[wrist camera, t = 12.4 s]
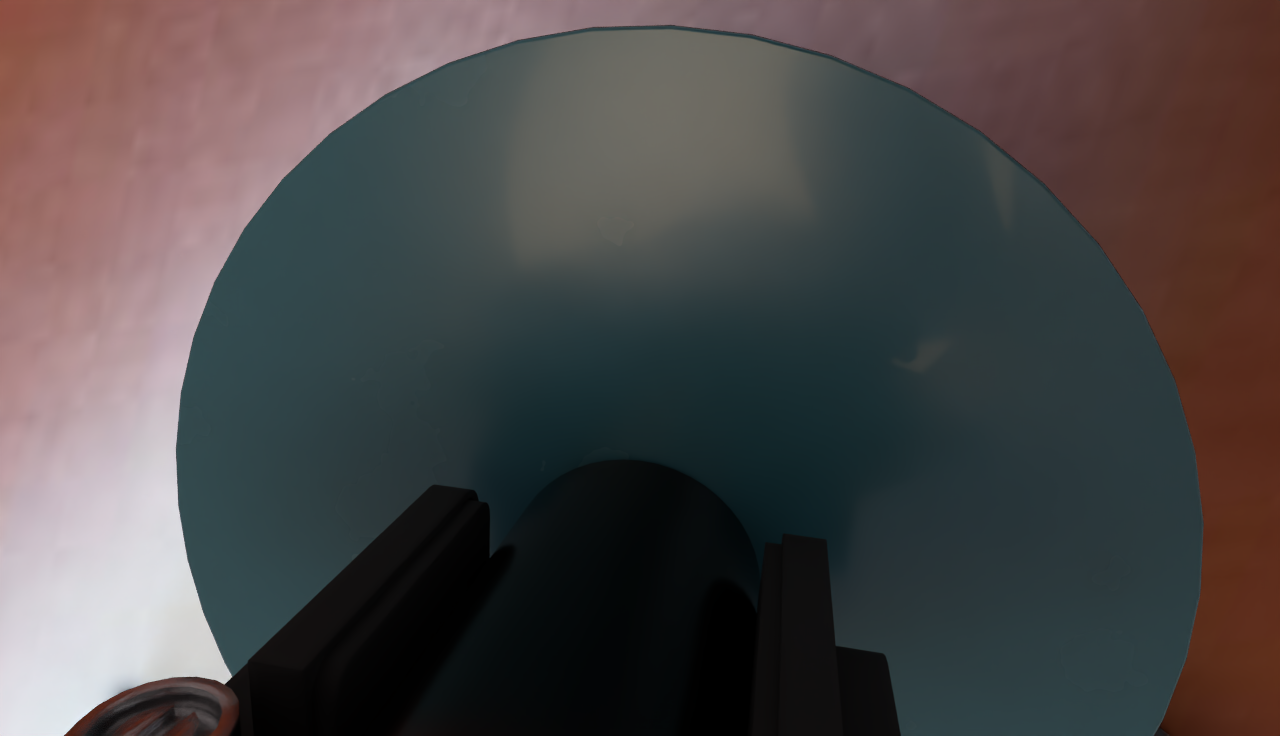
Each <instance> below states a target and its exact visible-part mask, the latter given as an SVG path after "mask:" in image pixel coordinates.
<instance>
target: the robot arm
mask: <svg viewBox="0 0 1280 736" xmlns="http://www.w3.org/2000/svg"><path fill="white" fill-rule="evenodd" d="M489 559H490V508H489V505H488V503H487V502H480V501H479V500H478V496H477V493H476V492H475V490H471V489H464V488H457V487H450V486H442V485H435V484H434V485H432V486H430V487H429V488H428V489H427V490H426V491H425V492H424V493H423V494H422V495H421V496H420V497H419V498H418V499H417V500H416V501H414V502H413V503H412V504H411V505H410V506H409V507H408V508H407V509H406V510H405V511H404V512H403V513H402V514H401V515H400V516H399V517H398V518H397V519H396V520H395V521H394V522H392V523H391V524H390V525H389V526H388V527H387V528H386V529H385V530H384V531H383V532H382V533H381V534H380V535H379V536H378V537H377V538H376V539H375V540H374V541H373V542H372V543H370V544H369V545H368V546H367V547H366V548H365V549H364V550H363V551H362V552H361V553H360V554H359V555H358V556H357V557H356V558H355V559H354V560H353V561H352V562H351V563H350V564H348V565H347V566H346V567H345V568H344V569H343V570H342V571H341V572H340V573H339V574H338V575H337V576H336V577H335V578H334V579H333V580H332V581H331V582H330V583H329V584H327V585H326V586H325V587H324V588H323V589H322V590H321V591H320V592H319V593H318V594H317V595H316V596H315V597H314V598H313V599H312V600H311V601H310V602H309V603H308V604H307V605H305V606H304V607H303V608H302V609H301V610H300V611H299V612H298V613H297V614H296V615H295V616H294V617H293V618H292V619H291V620H290V621H289V622H288V623H287V624H286V625H285V626H283V627H282V628H281V629H280V630H279V631H278V632H277V633H276V634H275V635H274V636H273V637H272V638H271V639H270V640H269V641H268V642H267V643H266V644H265V645H264V646H263V647H261V648H260V649H259V650H258V651H257V652H256V653H255V654H254V655H253V656H252V657H251V658H250V659H249V660H248V663H247V664H246V665H245V666H244V667H243V668H241V669H240V670H239V671H238V672H237V673H236V674H235V675H234V676H233V677H232V678H231V679H230V680H229V681H228V682H227V683H226V684H225V685H224V684H222V683H220V682H218V681H216V680H211V679H205V678H200V677H176V678H169V679H164V680H159V681H154V682H149V683H146V684H143V685H140V686H137V687H135V688H132V689H129V690H126V691H124V692H121V693H119V694H118V695H116V696H114V697H112V698H110V699H109V700H107V701H105V702H103V703H101V704H99V705H98V706H97V707H95V708H94V709H93V710H92V711H90V712H89V713H88V714H87V715H85V716H84V717H83V718H82V719H81V720H79V721H78V722H77V723H76V724H75V725H74V726H73V727H72V728H71V729H70V730H69V731H68V732H67V733H66V734H65V735H64V736H362V734H363V733H364V731H365V730H366V729H367V727H368V726H369V724H370V723H371V722H372V720H373V719H374V718H375V716H376V715H377V713H378V712H379V711H380V709H381V708H382V707H383V705H384V704H385V702H386V701H387V700H388V698H389V697H390V695H391V694H392V693H393V691H394V690H395V689H396V687H397V686H398V684H399V683H400V682H401V680H402V679H403V678H404V676H405V675H406V673H407V672H408V671H409V669H410V668H411V666H412V665H413V664H414V662H415V661H416V660H417V658H418V657H419V655H420V654H421V653H422V651H423V650H424V649H425V647H426V646H427V644H428V643H429V642H430V640H431V639H432V637H433V636H434V635H435V633H436V632H437V631H438V629H439V628H440V626H441V625H442V624H443V622H444V621H445V620H446V618H447V617H448V615H449V614H450V613H451V611H452V610H453V608H454V607H455V606H456V604H457V603H458V602H459V600H460V599H461V597H462V596H463V595H464V593H465V592H466V591H467V589H468V588H469V586H470V585H471V584H472V582H473V581H474V579H475V578H476V577H477V575H478V574H479V573H480V571H481V570H482V568H483V567H484V566H485V564H486V563H487V562H488V560H489ZM747 736H901V733H900V727H899V722H898V716H897V711H896V705H895V700H894V694H893V689H892V683H891V678H890V672H889V667H888V662H887V659H886V656H885V655H884V654H883V653H878V652H872V651H866V650H859V649H853V648H847V647H841V646H836V644H835V632H834V620H833V608H832V597H831V585H830V573H829V561H828V549H827V540H826V539H820V538H813V537H806V536H799V535H792V534H785V533H783V536H782V543H781V544H775V543H768V542H765V548H764V556H763V564H762V573H761V581H760V589H759V598H758V606H757V615H756V628H755V641H754V654H753V667H752V680H751V693H750V706H749V719H748V733H747Z"/></svg>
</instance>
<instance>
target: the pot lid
mask: <svg viewBox="0 0 1280 736" xmlns="http://www.w3.org/2000/svg"><path fill="white" fill-rule="evenodd" d="M176 461H177V484H178V506H179V512H180V518H181V523H182V529H183V535H184V541H185V547H186V553H187V559H188V563H189V566H190V569H191V573H192V576H193V579H194V583H195V586H196V590H197V593H198V596H199V600H200V603H201V606H202V610H203V613H204V615H205V618H206V620H207V622H208V625H209V627H210V629H211V632H212V634H213V636H214V639H215V641H216V644H217V646H218V648H219V651H220V653H221V655H222V658H223V660H224V662H225V664H226V666H227V668H228V670H229V671H230V673H231V675H232V677H233V676H234V675H235V674H236V673H237V672H238V671H239V670H240V669H241V668H243V667H244V666H245V665H246V664H247V663H248V660H249V659H250V658H251V657H252V656H253V655H254V654H255V653H256V652H257V651H258V650H259V649H260V648H261V647H263V646H264V645H265V644H266V643H267V642H268V641H269V640H270V639H271V638H272V637H273V636H274V635H275V634H276V633H277V632H278V631H279V630H280V629H281V628H282V627H283V626H285V625H286V624H287V623H288V622H289V621H290V620H291V619H292V618H293V617H294V616H295V615H296V614H297V613H298V612H299V611H300V610H301V609H302V608H303V607H304V606H305V605H307V604H308V603H309V602H310V601H311V600H312V599H313V598H314V597H315V596H316V595H317V594H318V593H319V592H320V591H321V590H322V589H323V588H324V587H325V586H326V585H327V584H329V583H330V582H331V581H332V580H333V579H334V578H335V577H336V576H337V575H338V574H339V573H340V572H341V571H342V570H343V569H344V568H345V567H346V566H347V565H348V564H350V563H351V562H352V561H353V560H354V559H355V558H356V557H357V556H358V555H359V554H360V553H361V552H362V551H363V550H364V549H365V548H366V547H367V546H368V545H369V544H370V543H372V542H373V541H374V540H375V539H376V538H377V537H378V536H379V535H380V534H381V533H382V532H383V531H384V530H385V529H386V528H387V527H388V526H389V525H390V524H391V523H392V522H394V521H395V520H396V519H397V518H398V517H399V516H400V515H401V514H402V513H403V512H404V511H405V510H406V509H407V508H408V507H409V506H410V505H411V504H412V503H413V502H414V501H416V500H417V499H418V498H419V497H420V496H421V495H422V494H423V493H424V492H425V491H426V490H427V489H428V488H429V487H430V486H432V485H434V484H435V485H442V486H450V487H457V488H464V489H471V490H475V492H476V493H477V496H478V500H479V501H480V502H487V503H488V505H489V508H490V559H489V560H488V562H487V563H486V564H485V566H484V567H483V568H482V570H481V571H480V573H479V574H478V575H477V577H476V578H475V579H474V581H473V582H472V584H471V585H470V586H469V588H468V589H467V591H466V592H465V593H464V595H463V596H462V597H461V599H460V600H459V602H458V603H457V604H456V606H455V607H454V608H453V610H452V611H451V613H450V614H449V615H448V617H447V618H446V620H445V621H444V622H443V624H442V625H441V626H440V628H439V629H438V631H437V632H436V633H435V635H434V636H433V637H432V639H431V640H430V642H429V643H428V644H427V646H426V647H425V649H424V650H423V651H422V653H421V654H420V655H419V657H418V658H417V660H416V661H415V662H414V664H413V665H412V666H411V668H410V669H409V671H408V672H407V673H406V675H405V676H404V678H403V679H402V680H401V682H400V683H399V684H398V686H397V687H396V689H395V690H394V691H393V693H392V694H391V695H390V697H389V698H388V700H387V701H386V702H385V704H384V705H383V707H382V708H381V709H380V711H379V712H378V713H377V715H376V716H375V718H374V719H373V720H372V722H371V723H370V724H369V726H368V727H367V729H366V730H365V731H364V733H363V734H362V736H747V733H748V719H749V706H750V693H751V680H752V667H753V654H754V641H755V628H756V615H757V606H758V598H759V589H760V581H761V573H762V564H763V556H764V548H765V542H768V543H775V544H781V543H782V536H783V533H785V534H792V535H799V536H806V537H813V538H820V539H826V540H827V549H828V561H829V573H830V585H831V597H832V608H833V620H834V632H835V644H836V646H841V647H847V648H853V649H859V650H866V651H872V652H878V653H883V654H884V655H885V656H886V659H887V662H888V667H889V672H890V678H891V683H892V689H893V694H894V700H895V705H896V711H897V716H898V722H899V727H900V733H901V736H1154V734H1155V733H1156V731H1157V729H1158V727H1159V726H1160V724H1161V722H1162V721H1163V719H1164V716H1165V713H1166V711H1167V708H1168V706H1169V703H1170V700H1171V698H1172V695H1173V693H1174V690H1175V687H1176V685H1177V682H1178V680H1179V677H1180V674H1181V672H1182V669H1183V667H1184V664H1185V661H1186V659H1187V654H1188V649H1189V645H1190V640H1191V635H1192V630H1193V626H1194V621H1195V616H1196V611H1197V607H1198V602H1199V597H1200V590H1201V568H1202V546H1203V514H1202V505H1201V497H1200V488H1199V480H1198V471H1197V463H1196V454H1195V449H1194V445H1193V442H1192V438H1191V435H1190V431H1189V428H1188V424H1187V420H1186V417H1185V413H1184V410H1183V406H1182V403H1181V399H1180V396H1179V392H1178V389H1177V385H1176V382H1175V379H1174V377H1173V374H1172V372H1171V370H1170V368H1169V366H1168V364H1167V361H1166V359H1165V357H1164V355H1163V353H1162V351H1161V348H1160V346H1159V344H1158V342H1157V340H1156V338H1155V335H1154V333H1153V331H1152V329H1151V327H1150V325H1149V322H1148V320H1147V318H1146V316H1145V314H1144V312H1143V310H1142V308H1141V307H1140V305H1139V304H1138V302H1137V301H1136V299H1135V298H1134V296H1133V295H1132V293H1131V292H1130V290H1129V289H1128V287H1127V285H1126V284H1125V282H1124V281H1123V279H1122V278H1121V276H1120V275H1119V273H1118V272H1117V270H1116V269H1115V267H1114V266H1113V264H1112V263H1111V261H1110V260H1109V258H1108V257H1107V255H1106V254H1105V252H1104V251H1103V249H1102V248H1101V246H1100V245H1099V243H1098V242H1097V241H1096V240H1095V239H1094V238H1093V237H1092V236H1091V235H1090V234H1089V232H1088V231H1087V230H1086V229H1085V228H1084V227H1083V226H1082V225H1081V224H1080V223H1079V221H1078V220H1077V219H1076V218H1075V217H1074V216H1073V215H1072V214H1071V213H1070V212H1069V210H1068V209H1067V208H1066V207H1065V206H1064V205H1063V204H1062V203H1061V202H1060V200H1059V199H1058V198H1057V197H1056V196H1055V195H1054V194H1053V193H1052V192H1051V191H1050V189H1049V188H1048V187H1047V186H1046V185H1045V184H1044V183H1043V182H1042V181H1040V180H1039V179H1038V178H1037V177H1036V176H1034V175H1033V174H1032V173H1031V172H1029V171H1028V170H1027V169H1026V168H1025V167H1023V166H1022V165H1021V164H1020V163H1018V162H1017V161H1016V160H1015V159H1014V158H1012V157H1011V156H1010V155H1009V154H1007V153H1006V152H1005V151H1004V150H1003V149H1001V148H1000V147H999V146H998V145H997V144H995V143H994V142H993V141H992V140H990V139H989V138H988V137H987V136H986V135H984V134H983V133H982V132H981V131H979V130H978V129H976V128H974V127H973V126H971V125H969V124H968V123H966V122H964V121H963V120H961V119H959V118H958V117H956V116H954V115H953V114H951V113H949V112H948V111H946V110H944V109H943V108H941V107H939V106H938V105H936V104H934V103H933V102H931V101H929V100H928V99H926V98H924V97H923V96H921V95H919V94H918V93H916V92H915V91H913V90H911V89H910V88H907V87H905V86H903V85H900V84H898V83H896V82H893V81H891V80H889V79H886V78H884V77H881V76H879V75H877V74H874V73H872V72H870V71H867V70H865V69H863V68H860V67H858V66H855V65H853V64H851V63H848V62H846V61H844V60H841V59H839V58H837V57H834V56H832V55H828V54H824V53H820V52H817V51H813V50H809V49H805V48H801V47H798V46H794V45H790V44H786V43H783V42H779V41H775V40H771V39H767V38H764V37H760V36H756V35H752V34H744V33H735V32H727V31H718V30H710V29H701V28H692V27H684V26H675V25H656V26H618V27H591V28H585V29H580V30H574V31H568V32H562V33H556V34H550V35H545V36H539V37H533V38H527V39H521V40H517V41H514V42H511V43H508V44H505V45H502V46H498V47H495V48H492V49H489V50H486V51H483V52H480V53H477V54H474V55H471V56H468V57H465V58H462V59H459V60H456V61H453V62H450V63H447V64H445V65H443V66H441V67H439V68H437V69H435V70H433V71H431V72H429V73H427V74H425V75H423V76H421V77H419V78H417V79H415V80H413V81H411V82H409V83H407V84H405V85H403V86H401V87H399V88H397V89H395V90H393V91H391V92H389V93H387V94H385V95H384V96H383V97H381V98H380V99H378V100H377V101H375V102H374V103H373V104H371V105H370V106H368V107H367V108H366V109H364V110H363V111H361V112H360V113H358V114H357V115H356V116H354V117H353V118H351V119H350V120H349V121H347V122H346V123H344V124H343V125H341V126H340V127H339V128H337V129H336V130H334V131H333V132H331V133H330V134H329V135H328V136H327V137H326V138H325V139H324V140H323V141H322V142H321V143H320V144H319V145H318V146H317V147H316V148H314V149H313V150H312V151H311V152H310V153H309V154H308V155H307V156H306V157H305V158H304V159H303V160H302V161H301V162H300V163H299V164H298V165H297V166H296V167H295V168H294V169H293V170H291V171H290V172H289V173H288V174H287V175H286V176H285V177H284V178H283V179H282V181H281V182H280V183H279V185H278V186H277V187H276V188H275V190H274V191H273V192H272V194H271V195H270V196H269V197H268V199H267V200H266V201H265V203H264V204H263V205H262V207H261V208H260V209H259V210H258V212H257V213H256V214H255V216H254V217H253V218H252V219H251V221H250V222H249V223H248V225H247V226H246V227H245V229H244V230H243V232H242V234H241V236H240V237H239V239H238V241H237V243H236V245H235V246H234V248H233V250H232V252H231V253H230V255H229V257H228V259H227V261H226V262H225V264H224V266H223V268H222V270H221V271H220V273H219V275H218V277H217V279H216V280H215V282H214V285H213V288H212V290H211V293H210V295H209V298H208V301H207V303H206V306H205V308H204V311H203V314H202V316H201V319H200V322H199V324H198V327H197V329H196V332H195V335H194V338H193V342H192V346H191V351H190V355H189V360H188V364H187V368H186V373H185V377H184V382H183V386H182V390H181V398H180V409H179V421H178V432H177V443H176Z"/></svg>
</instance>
